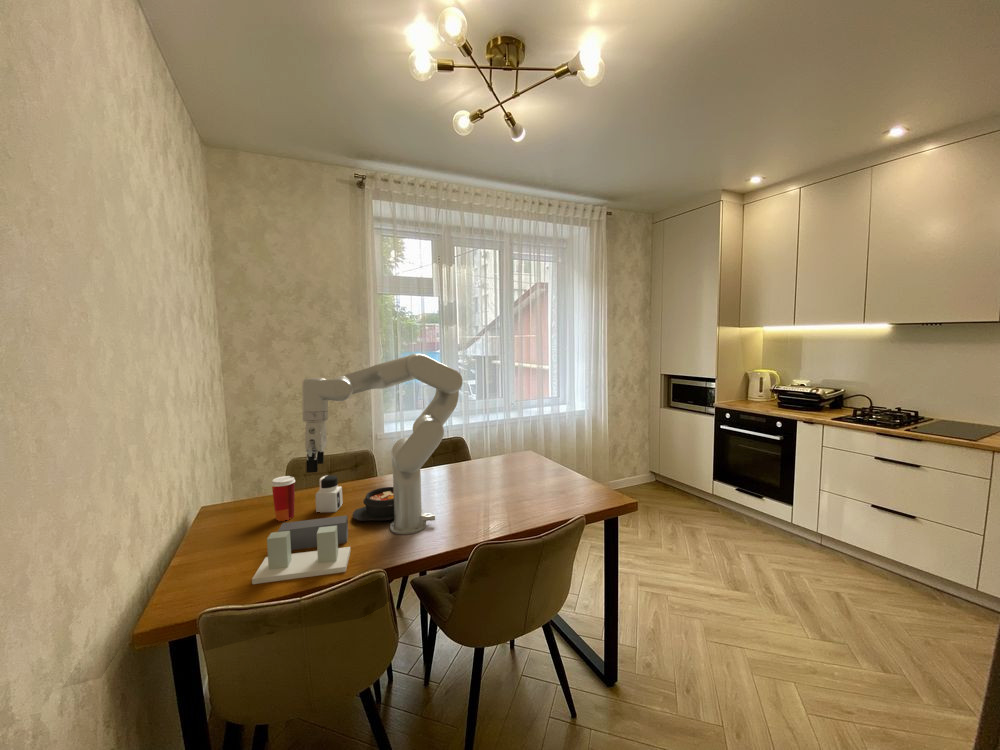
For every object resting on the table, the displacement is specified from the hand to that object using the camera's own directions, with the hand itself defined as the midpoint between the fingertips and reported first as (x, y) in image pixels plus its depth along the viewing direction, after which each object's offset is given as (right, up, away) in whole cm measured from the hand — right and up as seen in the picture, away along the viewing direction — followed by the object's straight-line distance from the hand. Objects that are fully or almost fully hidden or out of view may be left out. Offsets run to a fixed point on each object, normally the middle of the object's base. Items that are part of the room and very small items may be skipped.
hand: (315, 467), depth 134 cm
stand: (+3, -26, -14) cm, 30 cm away
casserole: (+17, -23, +22) cm, 37 cm away
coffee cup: (-21, -24, +20) cm, 37 cm away
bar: (0, -25, 0) cm, 25 cm away
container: (-7, -23, +29) cm, 37 cm away
